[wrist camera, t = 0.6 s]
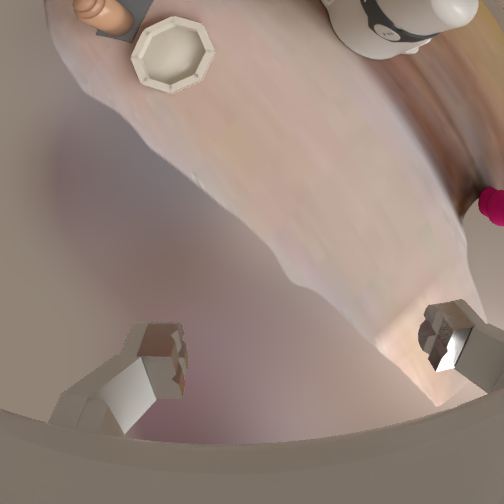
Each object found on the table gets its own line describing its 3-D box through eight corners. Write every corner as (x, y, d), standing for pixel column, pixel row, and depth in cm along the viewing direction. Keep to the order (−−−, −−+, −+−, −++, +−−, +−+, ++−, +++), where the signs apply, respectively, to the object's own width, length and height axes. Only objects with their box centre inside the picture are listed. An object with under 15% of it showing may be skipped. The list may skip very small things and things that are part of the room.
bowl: (157, 15, 37) (153, 10, 34) (225, 35, 39) (224, 31, 37) (127, 79, 41) (121, 78, 39) (194, 101, 44) (191, 101, 41)
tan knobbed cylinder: (114, 8, 35) (76, -18, 22) (139, 13, 36) (106, -15, 23) (101, 34, 37) (59, 15, 24) (126, 39, 38) (88, 19, 25)
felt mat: (118, -8, 34) (118, -9, 34) (154, -2, 35) (153, -2, 35) (97, 34, 37) (96, 34, 37) (131, 42, 38) (131, 42, 38)
